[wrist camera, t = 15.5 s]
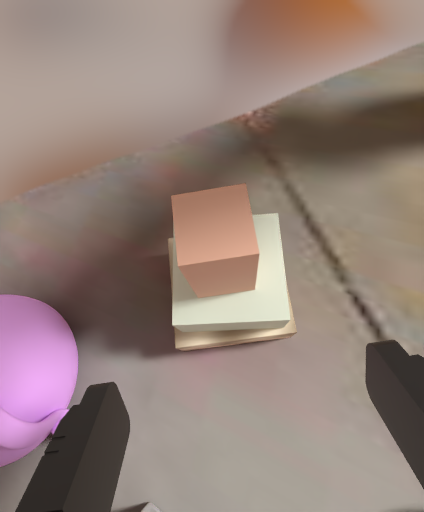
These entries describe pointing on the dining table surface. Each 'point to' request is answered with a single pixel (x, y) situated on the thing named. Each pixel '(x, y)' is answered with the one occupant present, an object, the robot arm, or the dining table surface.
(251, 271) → the terracotta block
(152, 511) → the coffee box
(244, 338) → the tower base block
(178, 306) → the tower top block
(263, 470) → the dining table surface
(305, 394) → the dining table surface
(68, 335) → the teapot
